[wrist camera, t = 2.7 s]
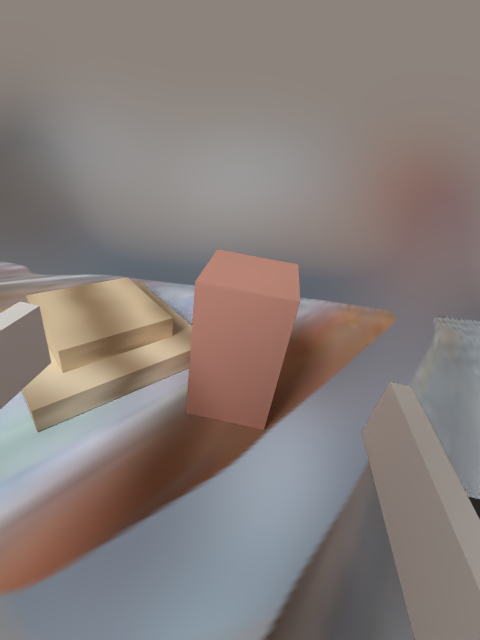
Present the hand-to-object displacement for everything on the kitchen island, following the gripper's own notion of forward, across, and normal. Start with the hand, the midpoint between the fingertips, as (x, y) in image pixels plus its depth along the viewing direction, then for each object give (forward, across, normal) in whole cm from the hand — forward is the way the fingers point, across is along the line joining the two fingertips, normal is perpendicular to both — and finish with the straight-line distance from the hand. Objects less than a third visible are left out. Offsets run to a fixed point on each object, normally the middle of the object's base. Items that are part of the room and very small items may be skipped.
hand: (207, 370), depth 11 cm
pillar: (+10, +1, -10) cm, 14 cm away
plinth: (+13, -12, -11) cm, 20 cm away
